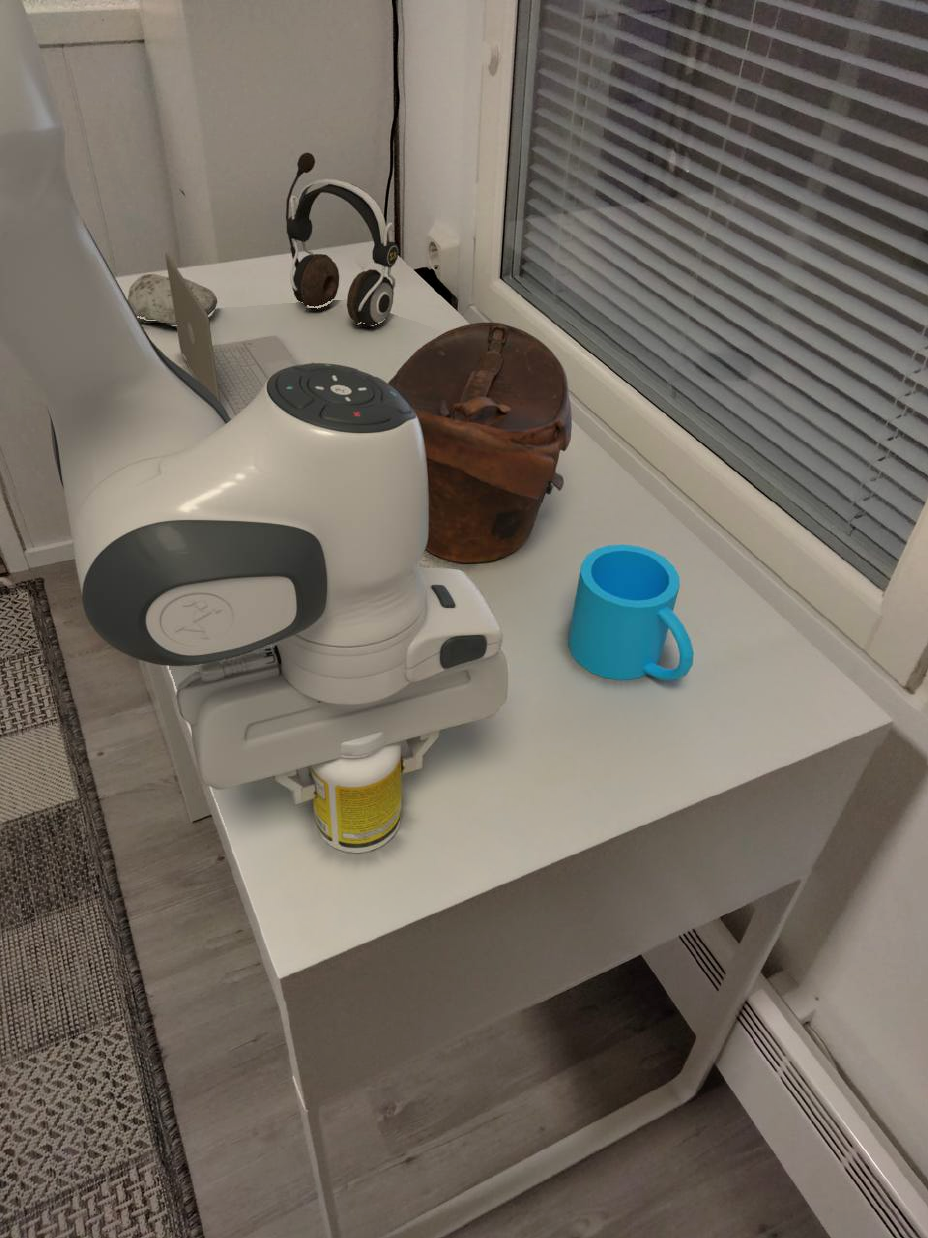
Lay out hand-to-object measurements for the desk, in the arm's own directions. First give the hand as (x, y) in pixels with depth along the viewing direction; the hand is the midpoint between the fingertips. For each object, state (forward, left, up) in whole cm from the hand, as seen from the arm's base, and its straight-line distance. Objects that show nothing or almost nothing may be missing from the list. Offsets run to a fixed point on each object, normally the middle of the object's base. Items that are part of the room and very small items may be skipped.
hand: (357, 778), depth 65 cm
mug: (+27, +8, -5) cm, 29 cm away
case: (+21, +30, -5) cm, 37 cm away
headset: (+23, +80, -5) cm, 83 cm away
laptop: (+7, +66, -5) cm, 67 cm away
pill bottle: (0, 0, -5) cm, 5 cm away
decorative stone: (+1, +86, -5) cm, 86 cm away
